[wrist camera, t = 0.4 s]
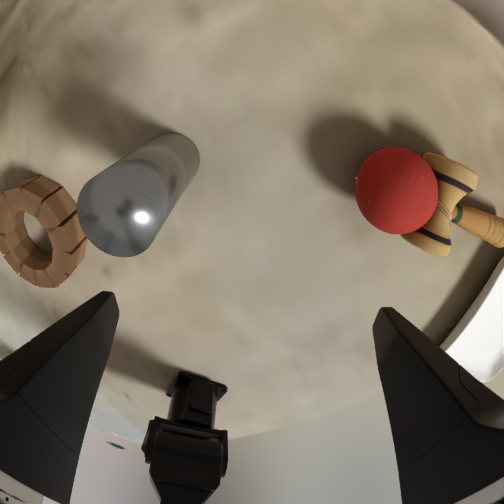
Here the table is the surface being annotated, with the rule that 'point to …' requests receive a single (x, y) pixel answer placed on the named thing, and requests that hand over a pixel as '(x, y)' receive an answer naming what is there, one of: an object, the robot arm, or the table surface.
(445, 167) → the kendama
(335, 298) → the table surface
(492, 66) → the table surface
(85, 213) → the grey metal cylinder
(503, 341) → the salad plate
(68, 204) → the bead ring
